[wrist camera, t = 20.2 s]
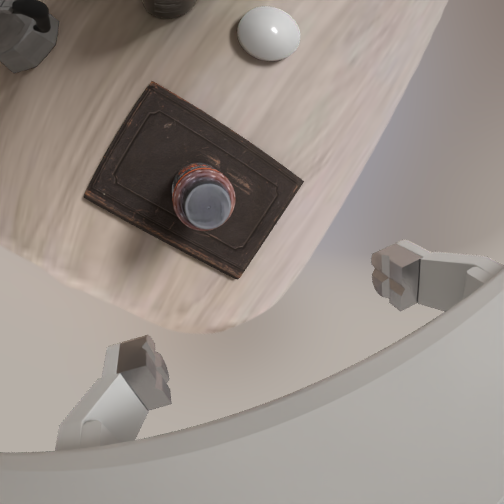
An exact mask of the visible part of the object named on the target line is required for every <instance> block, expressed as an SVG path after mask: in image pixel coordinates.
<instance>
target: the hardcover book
mask: <svg viewBox="0 0 504 504" xmlns="http://www.w3.org/2000/svg"><path fill="white" fill-rule="evenodd" d="M191 163H204V164H207V165H210V166H211V167H213V168H215V169H216V170H218V171H219V172H220V173H222V174H223V175H224V176H226V177H227V178H228V180H229V181H230V182H231V184H232V186H233V188H234V192H235V206H234V209H233V212H232V214H231V216H230V217H229V218H228V220H227V221H226V222H225V223H224V224H222V225H221V226H219V227H217V228H215V229H212V230H208V231H199V230H194V229H192V228H189V227H188V226H186V225H185V224H183V223H182V222H181V220H180V219H179V218H178V216H177V215H176V213H175V210H174V206H173V197H172V185H173V181H174V178H175V176H176V174H177V173H178V172H179V171H180V170H181V169H182V168H183V167H185V166H186V165H188V164H191ZM303 182H304V181H303V180H301V179H300V178H299V177H297V176H296V175H295V174H293V173H292V172H291V171H289V170H288V169H287V168H285V167H284V166H283V165H281V164H280V163H279V162H277V161H276V160H274V159H273V158H272V157H270V156H269V155H267V154H266V153H265V152H263V151H262V150H260V149H259V148H257V147H256V146H255V145H253V144H252V143H250V142H249V141H247V140H246V139H244V138H243V137H242V136H240V135H239V134H237V133H236V132H234V131H233V130H231V129H230V128H228V127H227V126H225V125H224V124H222V123H220V122H219V121H217V120H216V119H214V118H213V117H211V116H210V115H208V114H206V113H205V112H203V111H202V110H200V109H199V108H197V107H195V106H194V105H192V104H190V103H189V102H187V101H186V100H184V99H182V98H181V97H179V96H177V95H176V94H174V93H172V92H171V91H169V90H167V89H165V88H164V87H162V86H160V85H159V84H157V83H155V82H153V81H151V83H150V84H149V86H148V87H147V88H146V90H145V91H144V93H143V94H142V96H141V97H140V99H139V100H138V102H137V103H136V105H135V106H134V108H133V109H132V111H131V112H130V114H129V115H128V117H127V118H126V120H125V122H124V123H123V125H122V126H121V128H120V130H119V131H118V133H117V135H116V136H115V138H114V140H113V141H112V143H111V145H110V147H109V148H108V150H107V152H106V154H105V155H104V157H103V159H102V161H101V163H100V165H99V166H98V168H97V170H96V172H95V174H94V176H93V178H92V180H91V182H90V184H89V186H88V188H87V190H86V192H85V194H84V198H86V199H87V200H89V201H91V202H93V203H94V204H96V205H98V206H100V207H102V208H103V209H105V210H107V211H109V212H111V213H112V214H114V215H116V216H118V217H120V218H121V219H123V220H125V221H127V222H129V223H130V224H132V225H134V226H136V227H138V228H140V229H142V230H143V231H145V232H147V233H149V234H151V235H153V236H154V237H156V238H158V239H160V240H162V241H164V242H166V243H168V244H169V245H171V246H173V247H175V248H177V249H179V250H181V251H183V252H185V253H186V254H188V255H190V256H192V257H194V258H196V259H198V260H200V261H202V262H204V263H206V264H208V265H209V266H211V267H213V268H215V269H217V270H219V271H221V272H223V273H225V274H227V275H229V276H231V277H233V278H235V279H239V278H240V277H241V275H242V274H243V272H244V271H245V269H246V268H247V266H248V265H249V263H250V262H251V260H252V259H253V257H254V256H255V254H256V253H257V251H258V250H259V248H260V247H261V245H262V244H263V242H264V241H265V239H266V238H267V236H268V235H269V233H270V232H271V230H272V229H273V227H274V226H275V224H276V223H277V221H278V220H279V218H280V217H281V215H282V214H283V212H284V211H285V209H286V208H287V206H288V205H289V203H290V202H291V200H292V199H293V197H294V196H295V194H296V193H297V191H298V190H299V188H300V187H301V185H302V184H303Z"/></svg>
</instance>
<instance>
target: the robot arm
mask: <svg viewBox="0 0 504 504" xmlns="http://www.w3.org/2000/svg"><path fill="white" fill-rule="evenodd" d="M371 263H372V265H373V266H374V268H375V269H374V271H373V274H372V280H373V281H372V282H373V285H374V288H375V290H376V291H377V293H378V294H379V295H380V296H382V297H385V298H389V302H390V303H391V304H392V305H393V306H394V307H395V308H397V309H398V310H399V311H402V310H404V309H406V308H408V307H410V306H412V305H414V304H416V303H418V304H421V305H425V306H428V307H431V308H435V309H438V310H441V311H445V312H444V313H442V314H441V315H439V316H438V317H436V318H435V319H433V320H432V321H430V322H428V323H427V324H426V325H424V326H422V327H421V328H419V329H417V330H416V331H414V332H412V333H411V334H409V335H407V336H405V337H404V338H402V339H400V340H399V341H397V342H395V343H393V344H392V345H390V346H388V347H386V348H384V349H383V350H381V351H379V352H377V353H375V354H373V355H372V356H370V357H368V358H366V359H364V360H362V361H360V362H358V363H356V364H354V365H352V366H350V367H348V368H346V369H344V370H342V371H340V372H338V373H336V374H334V375H332V376H329V377H327V378H325V379H323V380H320V381H318V382H316V383H314V384H311V385H309V386H307V387H305V388H302V389H300V390H297V391H295V392H293V393H290V394H288V395H285V396H283V397H280V398H278V399H275V400H273V401H270V402H267V403H265V404H262V405H259V406H256V407H253V408H251V409H248V410H245V411H242V412H239V413H236V414H233V415H230V416H227V417H224V418H220V419H217V420H214V421H211V422H207V423H204V424H200V425H197V426H193V427H189V428H186V429H182V430H178V431H174V432H170V433H166V434H162V435H157V436H153V437H148V438H144V439H138V440H135V439H136V437H137V435H138V433H139V431H140V428H141V426H142V424H143V422H144V420H145V418H146V416H147V414H148V411H149V410H152V409H156V408H159V407H163V406H166V405H169V404H171V394H170V388H169V387H168V385H167V382H168V381H169V374H168V370H167V367H166V364H165V362H164V360H163V357H162V356H161V354H159V353H158V352H156V351H155V343H154V341H153V340H152V338H151V336H149V335H145V336H142V337H138V338H135V339H131V340H127V341H124V342H122V343H121V342H120V343H117V344H113V345H110V346H108V347H107V350H106V357H105V361H104V367H103V373H102V378H100V379H97V381H96V382H95V383H94V384H93V385H92V387H91V388H90V389H89V390H88V391H87V393H86V394H85V395H84V396H83V397H82V398H81V400H80V401H79V402H78V403H77V405H76V406H75V407H74V408H73V409H72V411H71V412H70V413H69V414H68V415H67V417H66V418H65V419H64V420H63V422H62V423H61V424H60V425H59V431H58V436H57V442H56V448H55V451H46V452H21V453H3V452H0V504H504V265H502V264H500V263H499V262H497V261H495V260H493V259H490V258H489V257H486V256H477V255H466V254H455V253H444V252H433V253H432V252H430V251H428V250H426V249H424V248H422V247H420V246H418V245H416V244H414V243H412V242H410V241H408V240H401V241H399V242H397V243H395V244H393V245H391V246H389V247H386V248H384V249H382V250H379V251H377V252H375V253H373V254H372V258H371Z"/></svg>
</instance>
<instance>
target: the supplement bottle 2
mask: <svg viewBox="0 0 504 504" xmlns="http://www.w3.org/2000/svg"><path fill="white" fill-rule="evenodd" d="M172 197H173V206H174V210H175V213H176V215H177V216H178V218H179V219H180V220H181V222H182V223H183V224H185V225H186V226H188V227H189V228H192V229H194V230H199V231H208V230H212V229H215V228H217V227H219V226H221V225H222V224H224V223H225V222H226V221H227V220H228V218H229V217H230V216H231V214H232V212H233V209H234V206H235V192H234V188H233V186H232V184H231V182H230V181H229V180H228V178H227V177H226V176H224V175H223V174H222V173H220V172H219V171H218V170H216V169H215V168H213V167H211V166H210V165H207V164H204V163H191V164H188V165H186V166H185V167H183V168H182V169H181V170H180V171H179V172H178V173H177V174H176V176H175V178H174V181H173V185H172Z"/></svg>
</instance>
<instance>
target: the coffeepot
mask: <svg viewBox="0 0 504 504" xmlns="http://www.w3.org/2000/svg"><path fill="white" fill-rule="evenodd" d="M58 25H59V21H58V20H57V19H56V18H54V17H53V16H52V15H51V14H49V10H48V8H47V6H46V5H45V4H44V3H43V2H40V1H38V0H0V61H1V62H2V63H3V64H4V65H5V66H6V67H7V68H9V69H10V70H11V71H12V72H13V73H16V72H20V71H24V70H28V69H30V68H33V67H36V66H37V65H38V64H39V63H40V62H41V61H42V60H43V59H44V58H45V57H46V56H47V55H48V53H49V52H50V51H51V49H52V48H53V47H54V46H55V44H56V39H57V35H58Z"/></svg>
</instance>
